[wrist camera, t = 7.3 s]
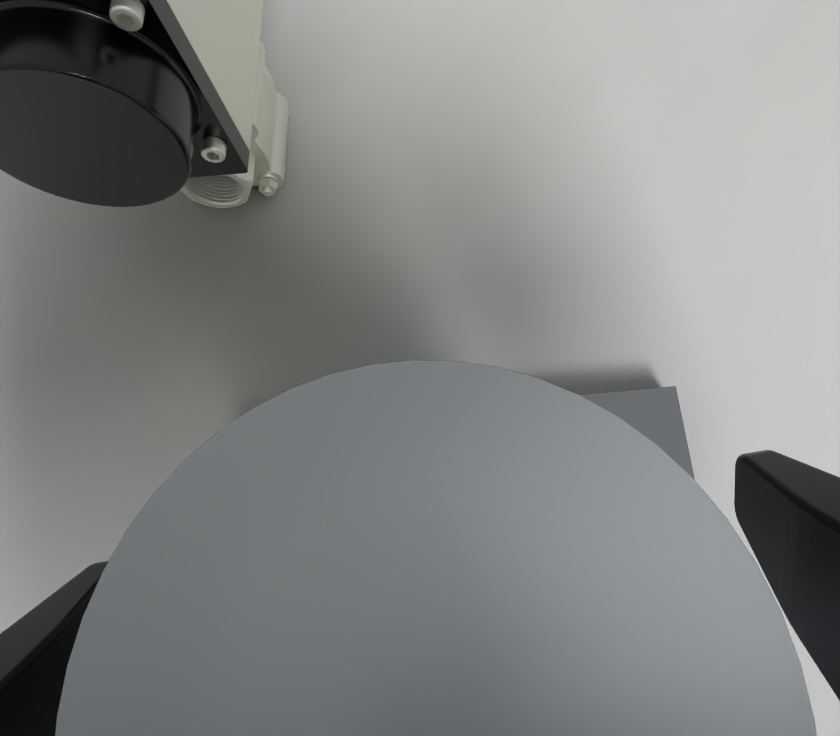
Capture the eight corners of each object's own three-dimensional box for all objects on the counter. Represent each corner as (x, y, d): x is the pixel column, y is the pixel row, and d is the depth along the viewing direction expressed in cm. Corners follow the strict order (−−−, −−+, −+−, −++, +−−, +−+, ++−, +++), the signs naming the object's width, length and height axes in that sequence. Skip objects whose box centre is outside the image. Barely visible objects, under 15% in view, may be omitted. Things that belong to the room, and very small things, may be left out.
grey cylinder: (630, 719, 15) (1083, 1155, 3) (385, 791, 15) (43, 1456, 4) (545, 474, 17) (656, 240, 5) (329, 539, 17) (-10, 442, 5)
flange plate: (773, 923, 14) (793, 946, 13) (235, 936, 15) (218, 959, 14) (668, 394, 18) (677, 383, 17) (250, 432, 19) (237, 423, 18)
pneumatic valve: (315, 17, 24) (159, -483, 13) (298, 303, 20) (56, -59, 9) (173, 31, 25) (-94, -437, 14) (130, 313, 21) (-293, -18, 10)
